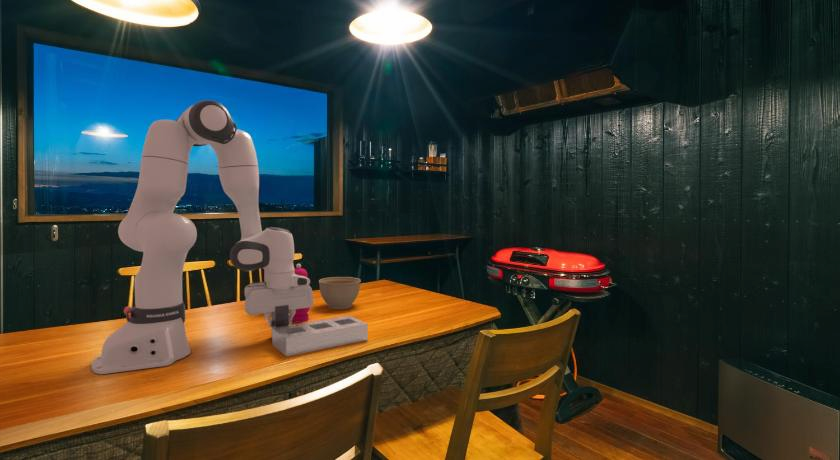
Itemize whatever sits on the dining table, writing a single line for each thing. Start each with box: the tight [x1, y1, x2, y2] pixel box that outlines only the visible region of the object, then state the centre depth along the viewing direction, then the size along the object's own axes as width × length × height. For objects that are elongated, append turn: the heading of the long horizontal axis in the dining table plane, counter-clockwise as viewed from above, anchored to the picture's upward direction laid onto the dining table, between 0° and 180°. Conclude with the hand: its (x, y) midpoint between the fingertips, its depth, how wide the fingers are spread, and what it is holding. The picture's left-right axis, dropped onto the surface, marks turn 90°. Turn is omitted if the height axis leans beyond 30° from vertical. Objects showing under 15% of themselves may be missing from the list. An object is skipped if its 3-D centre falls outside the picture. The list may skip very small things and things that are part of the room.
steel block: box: [271, 305, 290, 329], centre depth 139 cm, size 4×4×10 cm
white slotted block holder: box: [271, 315, 369, 357], centre depth 135 cm, size 25×12×5 cm, turn 126°
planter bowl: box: [318, 276, 362, 310], centre depth 178 cm, size 16×16×11 cm
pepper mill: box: [289, 263, 311, 323], centre depth 159 cm, size 7×7×20 cm
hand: (280, 325), depth 139 cm, fingers closed on steel block, 4 cm apart
